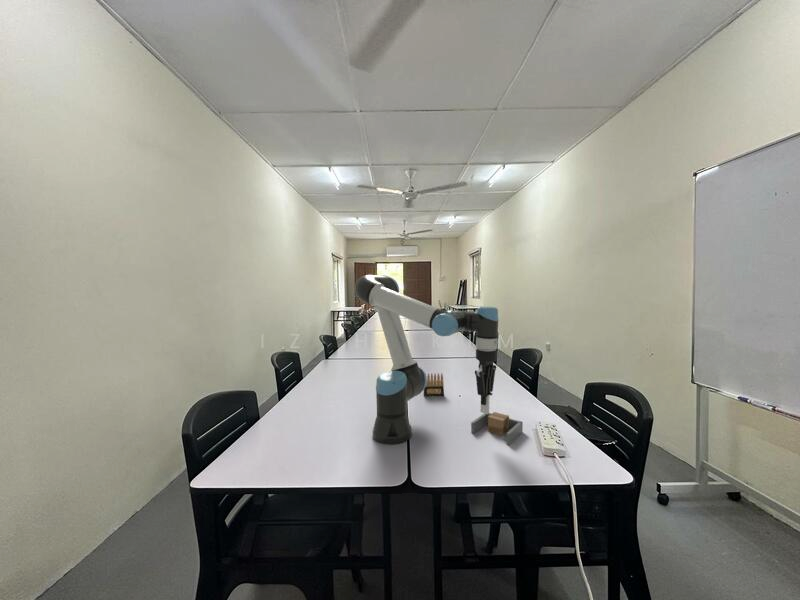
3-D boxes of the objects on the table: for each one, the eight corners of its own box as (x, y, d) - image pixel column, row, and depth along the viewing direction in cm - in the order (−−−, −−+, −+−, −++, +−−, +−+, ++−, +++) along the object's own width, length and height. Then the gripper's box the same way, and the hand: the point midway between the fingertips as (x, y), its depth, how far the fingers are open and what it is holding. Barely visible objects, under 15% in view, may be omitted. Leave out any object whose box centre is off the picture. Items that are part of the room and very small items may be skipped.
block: (502, 436, 115) (502, 420, 115) (487, 431, 119) (487, 416, 119) (509, 430, 120) (509, 415, 119) (494, 426, 124) (494, 411, 123)
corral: (509, 445, 108) (509, 434, 108) (471, 432, 118) (471, 422, 118) (522, 432, 118) (522, 421, 118) (486, 421, 128) (486, 412, 128)
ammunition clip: (423, 396, 160) (423, 373, 159) (423, 395, 161) (423, 372, 161) (444, 396, 160) (443, 373, 159) (443, 394, 161) (443, 372, 161)
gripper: (488, 353, 103) (486, 421, 105) (503, 348, 113) (501, 410, 114) (468, 350, 108) (466, 415, 110) (485, 345, 118) (483, 404, 119)
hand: (484, 412), depth 112 cm, fingers closed
